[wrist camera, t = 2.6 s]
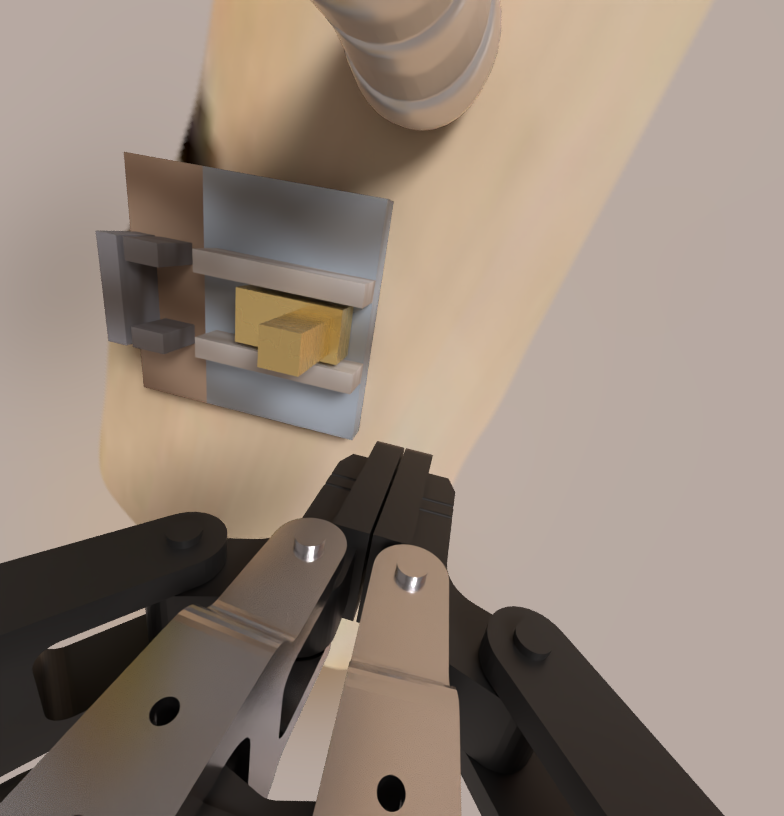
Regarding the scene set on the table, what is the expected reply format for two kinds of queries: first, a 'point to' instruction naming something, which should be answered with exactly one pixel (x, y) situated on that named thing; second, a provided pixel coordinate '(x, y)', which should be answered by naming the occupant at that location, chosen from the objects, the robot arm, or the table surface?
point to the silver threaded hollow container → (418, 54)
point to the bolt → (291, 328)
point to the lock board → (241, 284)
